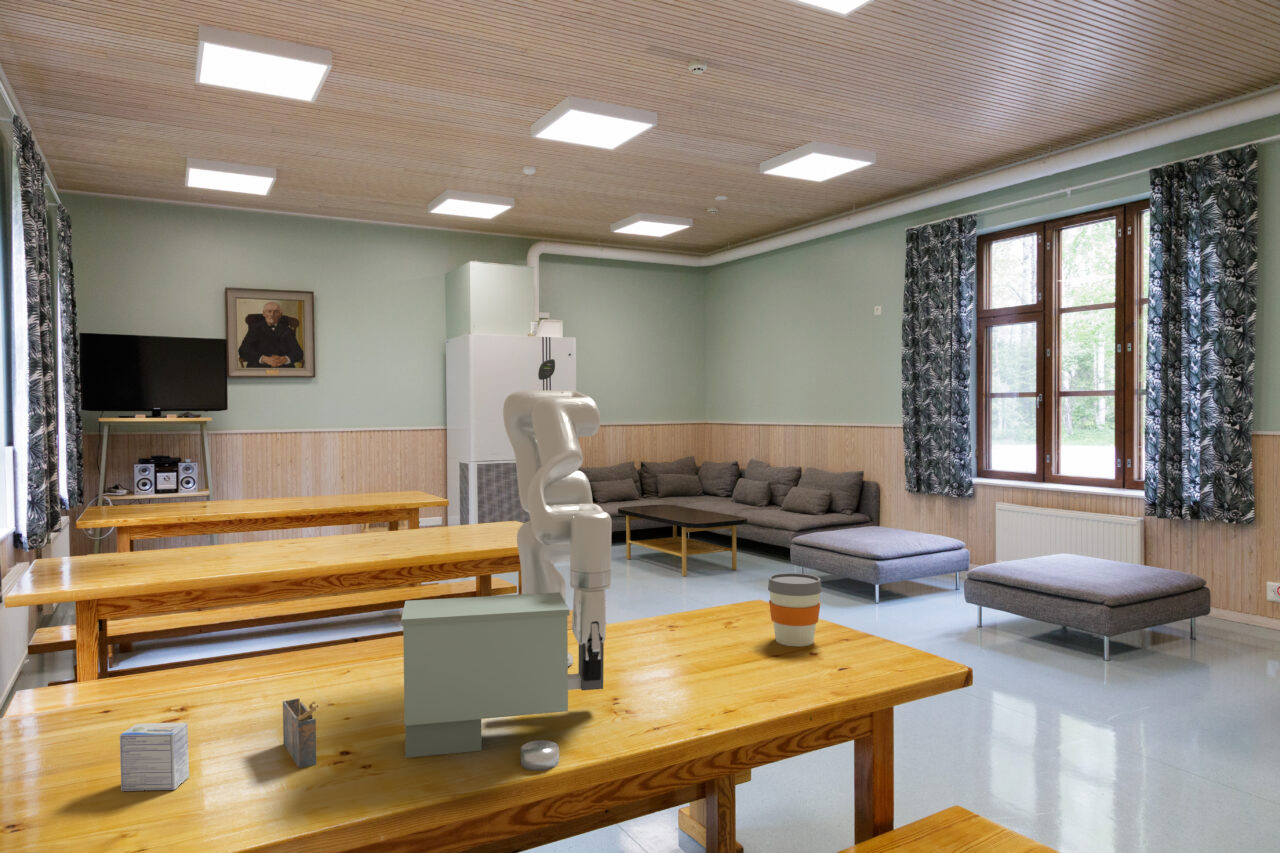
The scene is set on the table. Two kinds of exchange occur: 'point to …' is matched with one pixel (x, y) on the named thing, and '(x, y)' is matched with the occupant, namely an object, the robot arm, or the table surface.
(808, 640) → the reusable coffee cup
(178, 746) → the medicine box
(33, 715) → the table surface
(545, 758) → the steel token
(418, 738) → the cabinet
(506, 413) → the robot arm
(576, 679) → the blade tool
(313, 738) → the weathered grey open box
